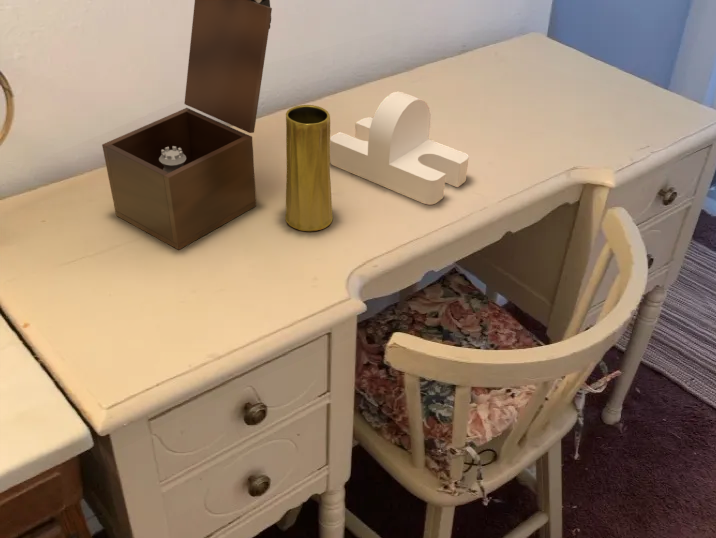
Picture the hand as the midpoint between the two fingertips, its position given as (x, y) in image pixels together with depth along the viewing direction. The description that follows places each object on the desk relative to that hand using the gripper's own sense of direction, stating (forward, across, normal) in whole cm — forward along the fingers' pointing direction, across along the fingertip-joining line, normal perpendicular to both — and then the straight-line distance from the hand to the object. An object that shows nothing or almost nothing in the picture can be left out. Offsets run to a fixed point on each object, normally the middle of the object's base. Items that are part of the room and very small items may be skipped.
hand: (260, 29), depth 104 cm
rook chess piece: (+18, +17, 0) cm, 24 cm away
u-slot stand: (+20, -11, +14) cm, 26 cm away
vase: (+19, +7, +12) cm, 24 cm away
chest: (+18, +16, 0) cm, 24 cm away
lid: (+1, +7, 0) cm, 7 cm away
